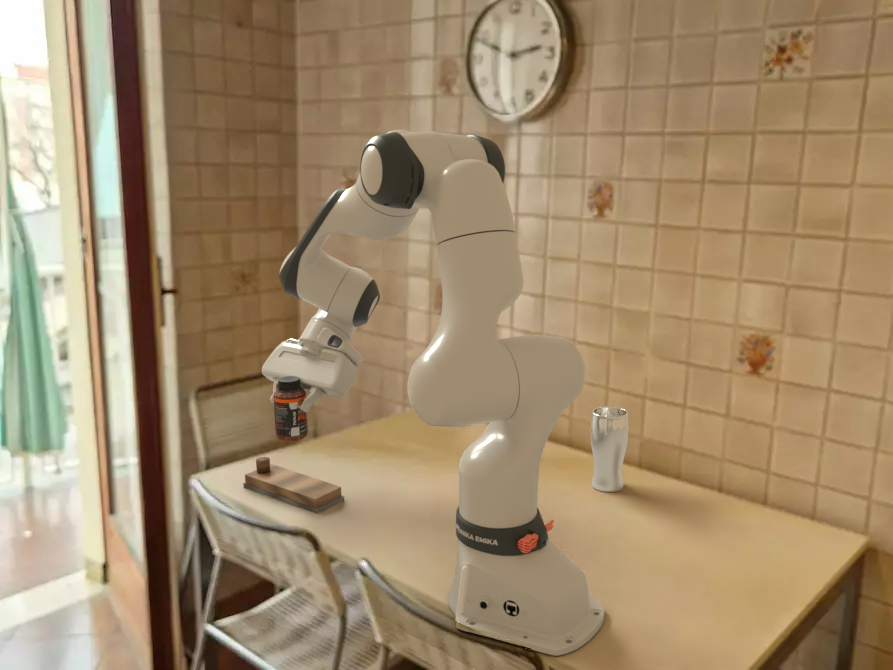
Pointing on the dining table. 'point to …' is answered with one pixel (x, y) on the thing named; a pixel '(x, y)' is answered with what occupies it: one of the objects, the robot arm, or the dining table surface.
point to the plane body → (292, 487)
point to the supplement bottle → (289, 410)
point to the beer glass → (608, 447)
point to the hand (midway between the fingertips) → (287, 406)
